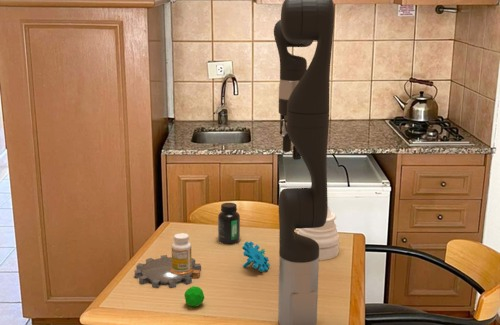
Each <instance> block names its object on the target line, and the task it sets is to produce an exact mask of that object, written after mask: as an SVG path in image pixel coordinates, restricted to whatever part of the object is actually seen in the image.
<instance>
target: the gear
mask: <svg viewBox="0 0 500 325" xmlns="http://www.w3.org/2000/svg"><path fill="white" fill-rule="evenodd" d="M260 248H261V247H260V245H258V244H256V245H255V244H254V242H253V241H245V242H244V243H243V246H242V248H241V249H242V250H243V252H242V254H243V257H244V256H245V257H248V258H247V259H246V262H245V263H243V265H242V267H243V268H244V269H246V268H247V267H249V265H251V264H252V268H253V269H255V270H257V269H258V271H259V272H260V273H263V272H268V271H269V267H270V266H271V264H270V263H268V262H269V260H270V259H269V257H268V256H265V254H266V249H265V248H261V249H260ZM259 249H260V250H259Z"/></svg>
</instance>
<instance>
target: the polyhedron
mask: <svg viewBox="0 0 500 325" xmlns="http://www.w3.org/2000/svg"><path fill="white" fill-rule="evenodd" d="M204 295H205V294H204V290H203V289H202V288H201V287H199V286H193V285H192V286H190V287H189V288H188V289H186V290H185V292H184V300H185V303H186V305H188V306H189V307H195V308H196V307H198V306H200V305H201V304H203V302H204V300H205V296H204Z"/></svg>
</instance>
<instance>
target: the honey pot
mask: <svg viewBox="0 0 500 325" xmlns="http://www.w3.org/2000/svg"><path fill="white" fill-rule="evenodd" d="M336 219H337V215H336V213H334V212H332V211H331V210H330V208H329V207H328V211H327V219H326V222H325V224H324V226H322V227H319V228H300V229H298V231H297V232H296V233H297V234H299V235H302V236H305V237H308V238H311V239H313V240H315V241H316V242H317V243H318V245H319V261H323V260H324V261H325V260H330V259H331V260H332V259H333V258H336V257H337V256H339V250H340V236H339V232H338V229H337V225H336V223H335V220H336Z"/></svg>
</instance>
